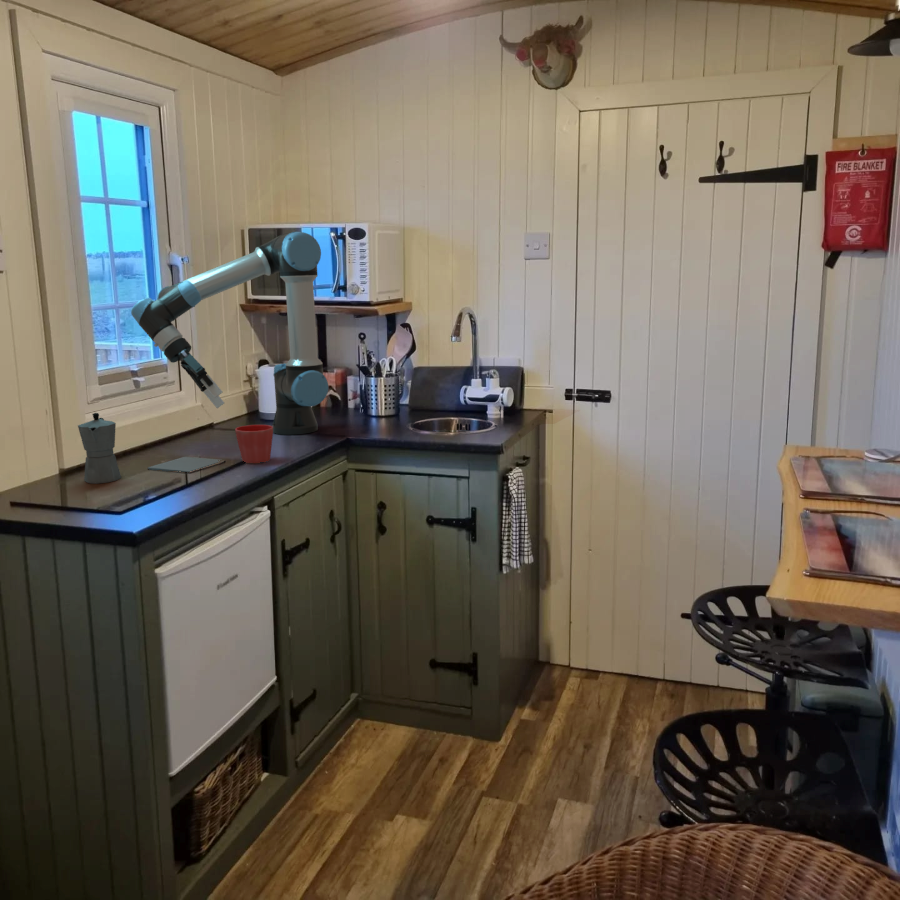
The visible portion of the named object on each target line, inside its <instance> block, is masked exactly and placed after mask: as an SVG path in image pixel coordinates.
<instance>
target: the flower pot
mask: <svg viewBox="0 0 900 900" xmlns="http://www.w3.org/2000/svg"><path fill="white" fill-rule="evenodd" d="M234 431H235V435H236V436H235V437H236V440H237V443H238V444H237V445H238V448H239V453H240V456H241V461H242V462H243V461H244V462H246V463H245V464H261V463H260V462H264V463H267V462H269V461H271V454H272V446H273V437H274V433H273V426H272V425H269V424H248V425H242V426H237V427H236V428H235V429H234ZM266 461H267V462H266ZM244 462H243V463H244Z"/></svg>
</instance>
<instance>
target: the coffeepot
mask: <svg viewBox="0 0 900 900" xmlns="http://www.w3.org/2000/svg"><path fill="white" fill-rule="evenodd" d="M99 416H100V414H99V412H94V413H92V418H93V419H92V420H90V421H87V422H84V423H81V424H77V428H78V431H79V435H80V439H81V442H82V446H83V450H84V451H85V453H86V457H85V462H84V463H85V465H84V479H83V480H84V481H85V483H86V484H97V485H98V484H105V483H113V482H115V481H118V480H120V479H121V478H122V475H121V471H120V468H119V465H118V461H117V457H116V455H115V454H114V448H115V446H116V445H115V444H116V425H117V423H116V422H114V421H112V420H105V419H104V418H103V417H99Z"/></svg>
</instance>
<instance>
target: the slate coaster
mask: <svg viewBox="0 0 900 900" xmlns="http://www.w3.org/2000/svg"><path fill="white" fill-rule="evenodd" d="M218 460H219V461H220V460H221V459H219V458H218V459H216V458H205V457H194V456H182V457H179V458H176V459H172V460H169V461H165V462H162V463H159V464H155V465H152V466H147V470H148V469H149V470H148V471H157V470H162V471H161V472H168V471H178V472H179V471H181V472H190V471H193V470H196V469H199V468H203V467H206V466H209V465H212V464H215V463H218V462H219V461H218ZM178 472H177V473H178Z"/></svg>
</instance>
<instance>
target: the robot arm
mask: <svg viewBox="0 0 900 900" xmlns="http://www.w3.org/2000/svg"><path fill="white" fill-rule="evenodd" d="M321 256H322V251H321V247H320V244H319V242H318V241H317V239H316V238H315V237H314V236H312V235H311V234H309V233H306V232H302V231H292V232H289V233H283V234H280V235H278V236H276V237H275V238H273V239H271V240H269V241H267V242H265V243H264V244H261V245H259V246H256V247H255V250H254V251H253V252H251V253H248V254H245V255H243V256H240V257H238V258H236V259H234V260H231V261H227V262H226V263H224V264H221V265H219V266H217V267H214V268H212V269H211V268H210V269H209V270H207V271H204V272H202V273H199V274H196V275H194V276H192V277H189V278H187V279H185V280H182V281H180V282H177V283H175V284H173V285H170V286H169V285H167V286H164V287H163V288H162V289H160V290H159V291H158V293H157V297H156V300H154V299H152V297H144V298H143V299H140V300H138V301H137V302H136V303H135V304H134V305H133V306H132V308H131V310H130V312H131V313H130V314H131V316H132V317H133V318H134V320H135V322H137V324H138V326H140V328H141V329H142V330H143V331H144V332H145V334H147V336H149V338H150V339H151V340H152V342H154V344H153V346H154V347H155V348H157V347H158V349H160V351H161V352H163V355H164V356H165V357H166V358H167V360H168V361H169V362H170V363H172V364H173V363H177V362H178V361H180V366H181V368H182V369H183V370H184V371H185V372H186V373H187V375H189V377H190V378H191V379H192V380H193V382H194V384H195V385H196V386H197V387H198V389H200V391H201V392H203V394H204V395H205V396H206V397H207V398H208V400H209V401H210V403H212V404H213V406H214V407H215V408H216V409H219V408H220V407H221V406H223V405H225V401H223V399H222V398H221V397H220V395H221V394H222V393H223V390H222V389H221V388H220V387H219V385H218V384H217V383H216V382H215V381H214V380H213V378H212V377H211V376H210V375H209V374H208V372H207V371H206V368H205V367H204V366H203V365H202V364H201V363H200V362H199V361H198V360H196V358H194V356H193V355H192V354H191V353H190V352H191V351H192V345H191V344H190V343H189V342H188V340H187V339H186V338H185V337H183V334H182V333H181V332H180V331H179V329H178V328H177V327H176V326H175V325H174V323H172V322H174V321H175V320H176V319H178V318H179V317H180V316H182V315H184V314H185V313H187V312H188V311H189V310H191V309H192V308H195V307H196V306H197V305H198V304H199V303H200V302H201V301H204V300H206V299H207V298H210V297H213V296H215V295H218V294H220V293H223V292H225V291H227V290H229V289H232V288H235V287H237V286H239V285H241V284H244V283H247V282H249V281H251V280H254V279H256V278H258V277H261V276H263V275H266V276H268V277H269V276H272V275H274V274H277V273H279V278H280V279H282V280H283V282H284V283H285V296H286V311H287V313H286V314H287V315H286V316H287V328H288V330H287V331H288V343H289V345H288V346H289V360H288V361H287V362H286V363H279V364H275V365H274V367H273V377H274V379H273V380H274V391H275V392H274V393H275V395H274V396H275V405H276V407H275V408H276V409H275V414H274V417H273V422H272V425H271V426H273V434H275V433H276V435H284V436H285V435H286V436H287V435H289V436H291V435H294V436H295V435H303V434H309V433H311V434H312V433H313V432H314V433H315V432H317V431H318V429H319V428H318V427H319V426H318V422H317V419H316V417H315V414H314V411H313V407H315V406H317V405H320V404H321V403H322V402H323V401H324V400H325V398H326V397H327V394H328V393H329V382H328V379H327V378H326V376H325V375H324V368H323V367H324V365H323V362H322V361H321V359H319V358H318V345H317V343H318V342H317V329H316V327H317V325H316V312H315V311H316V309H315V294H314V291H315V290H314V281H315V279H317V277H318V264H319V263H320V261H321Z"/></svg>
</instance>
